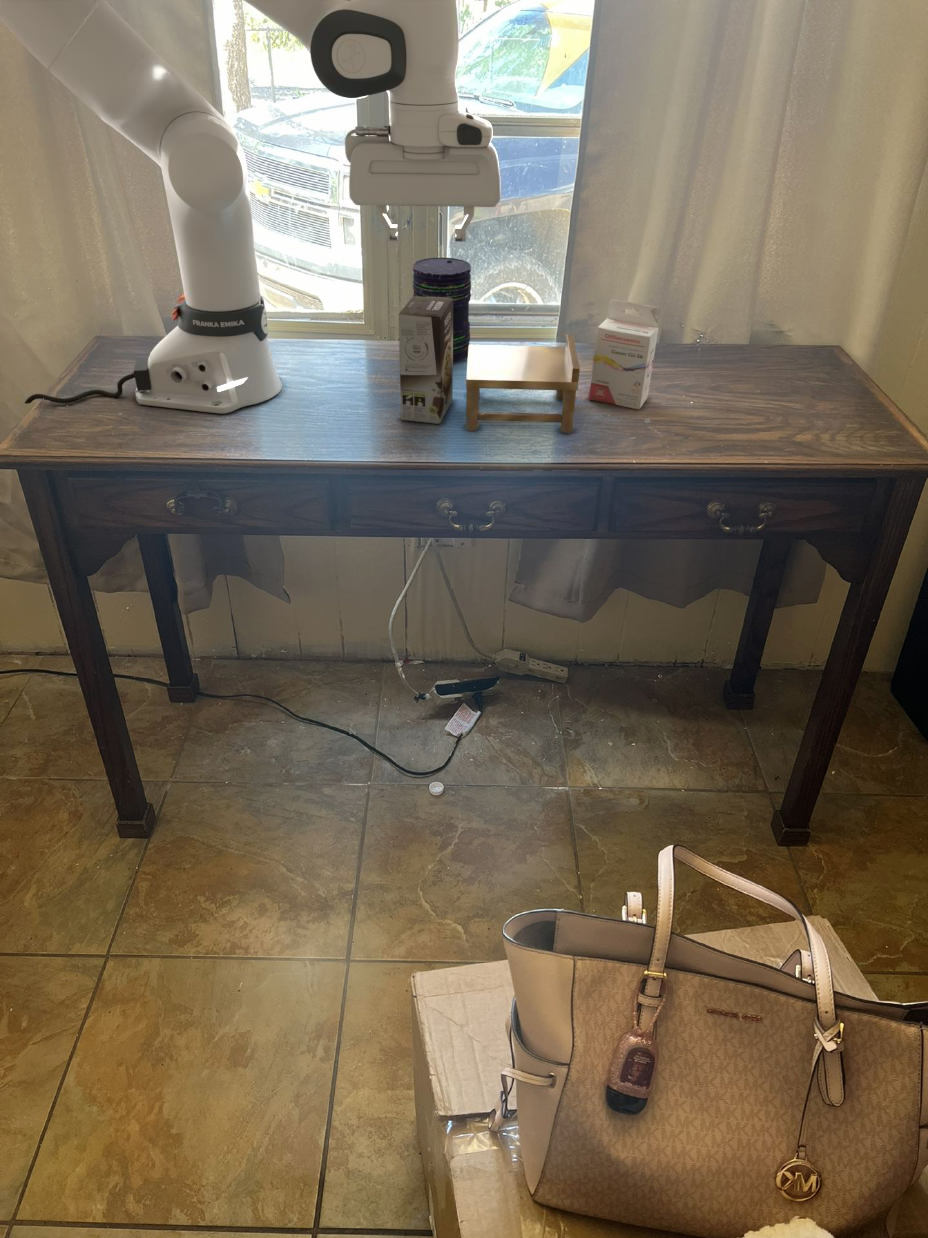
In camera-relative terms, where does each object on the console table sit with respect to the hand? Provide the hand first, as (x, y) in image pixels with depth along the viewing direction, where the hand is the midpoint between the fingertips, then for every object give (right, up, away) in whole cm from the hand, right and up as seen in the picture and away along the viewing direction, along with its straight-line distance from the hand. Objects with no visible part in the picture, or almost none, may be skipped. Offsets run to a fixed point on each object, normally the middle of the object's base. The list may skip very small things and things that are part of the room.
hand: (426, 239), depth 122 cm
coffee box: (0, -20, +15) cm, 25 cm away
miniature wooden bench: (+14, -20, +14) cm, 29 cm away
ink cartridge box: (+30, -17, +19) cm, 39 cm away
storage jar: (+1, -6, +34) cm, 34 cm away
